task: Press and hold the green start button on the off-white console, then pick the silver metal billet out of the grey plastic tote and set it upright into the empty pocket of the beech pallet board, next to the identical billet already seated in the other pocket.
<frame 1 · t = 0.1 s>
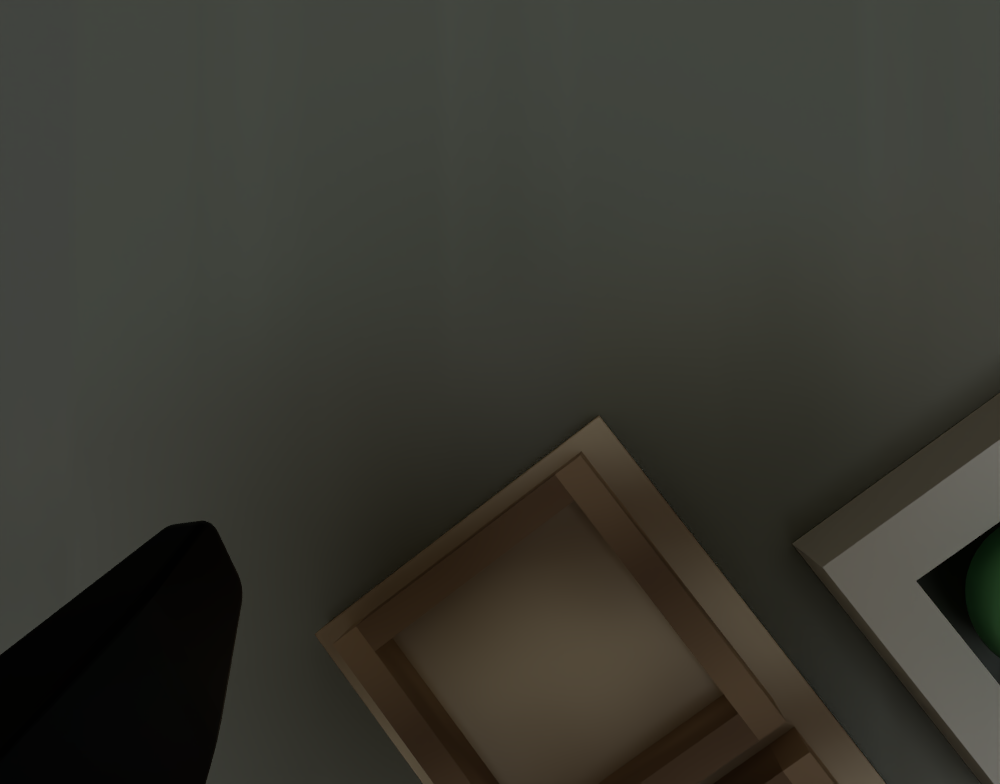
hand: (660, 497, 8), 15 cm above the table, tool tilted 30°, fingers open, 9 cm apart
pallet board: (655, 778, 22), on the table
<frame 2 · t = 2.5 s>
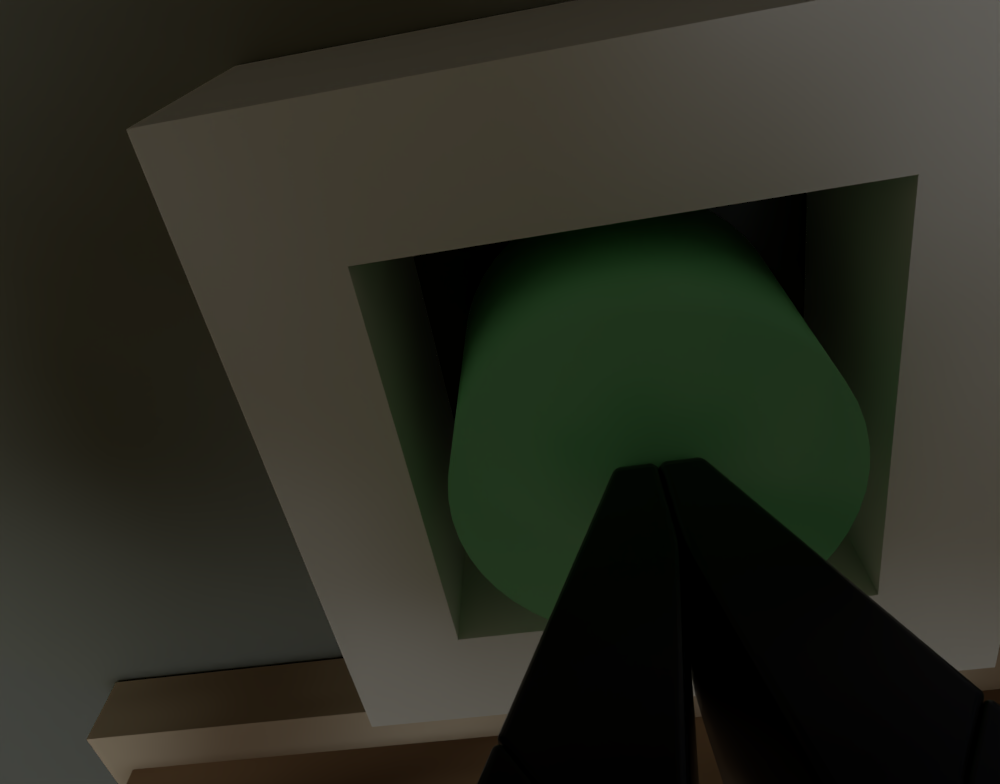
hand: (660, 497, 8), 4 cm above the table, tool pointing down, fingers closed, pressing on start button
start button: (635, 409, 9), point 2 cm above the table, slide at 1.3 cm, touching gripper
button console: (615, 321, 11), on the table
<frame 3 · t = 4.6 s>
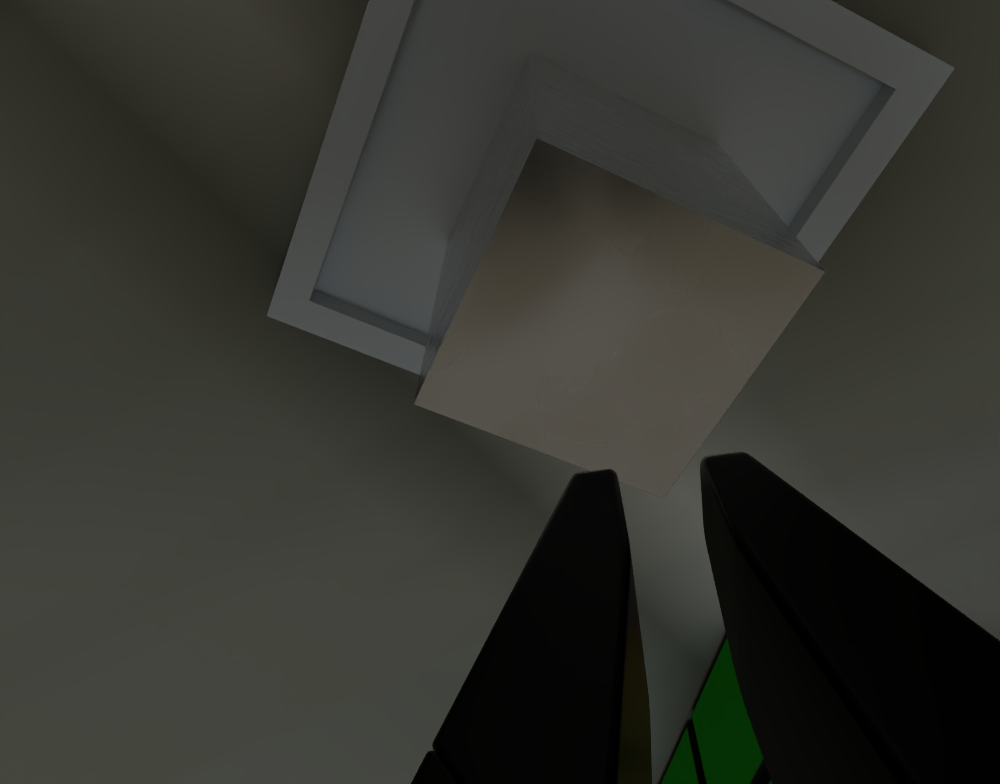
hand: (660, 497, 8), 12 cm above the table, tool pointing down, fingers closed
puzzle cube: (820, 724, 29), on the table
billet: (577, 194, 18), point 1 cm above the table, touching tote
tote: (576, 186, 18), on the table
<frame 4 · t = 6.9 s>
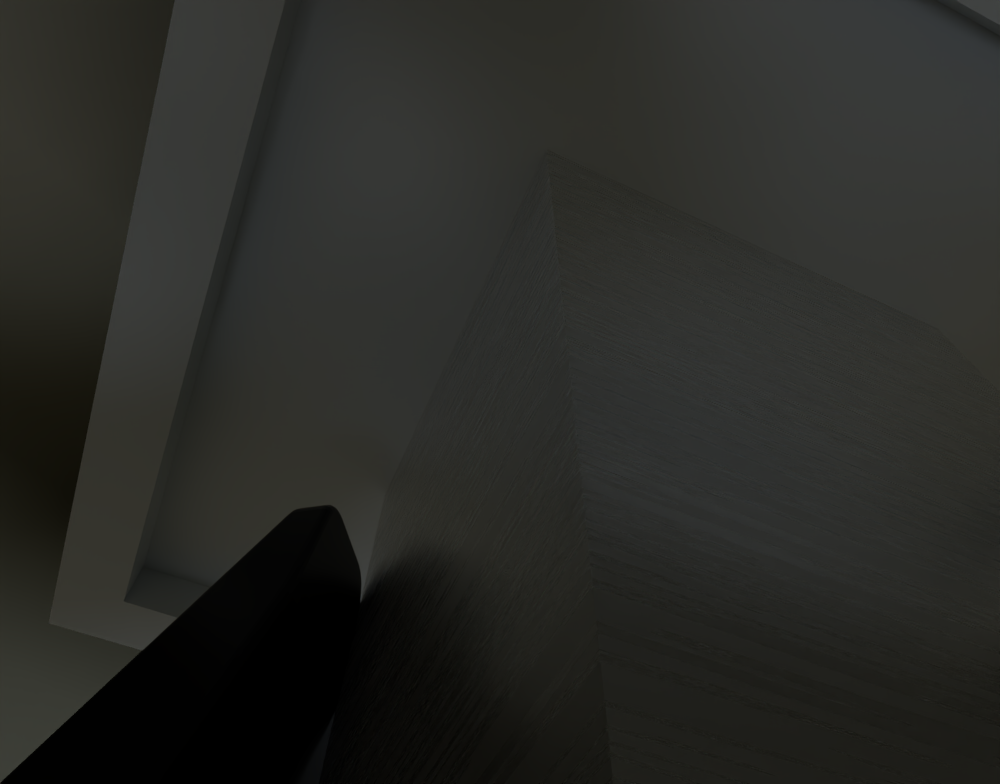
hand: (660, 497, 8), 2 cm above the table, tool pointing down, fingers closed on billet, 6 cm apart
billet: (641, 417, 9), point 1 cm above the table, touching gripper, tote
tote: (634, 389, 9), on the table
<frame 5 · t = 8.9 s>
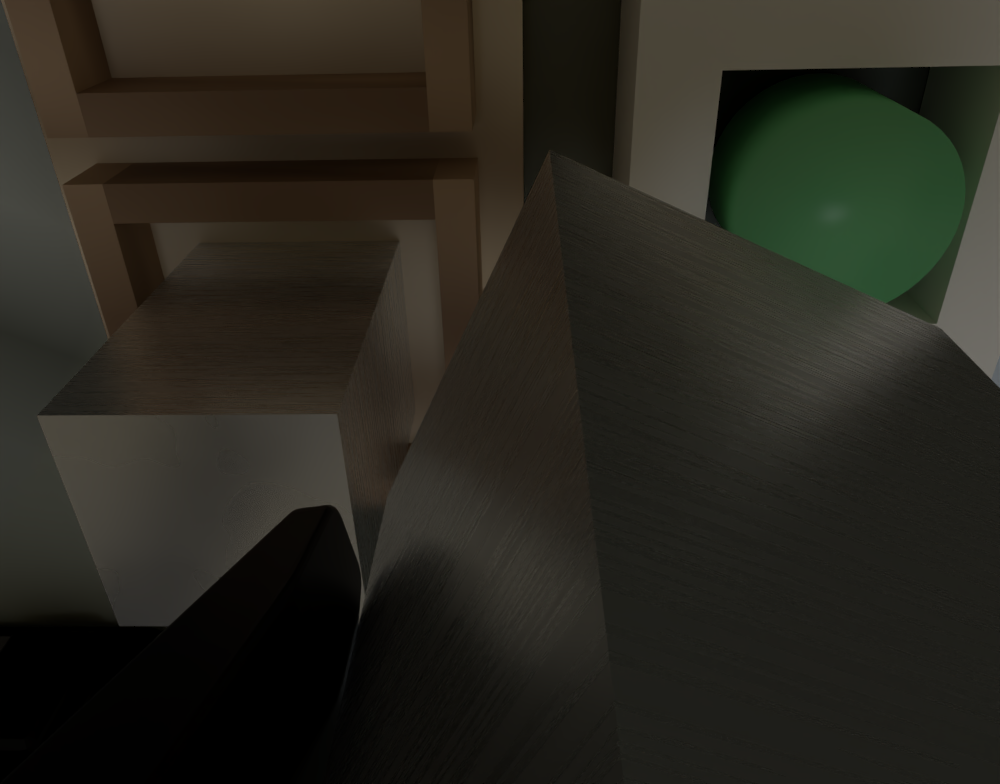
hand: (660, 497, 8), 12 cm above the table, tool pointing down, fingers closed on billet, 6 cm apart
billet: (643, 417, 9), point 10 cm above the table, touching gripper
pallet board: (296, 124, 18), on the table
start button: (824, 193, 16), point 2 cm above the table, slide at 1.3 cm
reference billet: (313, 331, 19), point 1 cm above the table, touching pallet board
button console: (793, 162, 18), on the table
when the fingers open (5 cm above the table, at t = 11.2 s): billet drops 2 cm, resting on pallet board.
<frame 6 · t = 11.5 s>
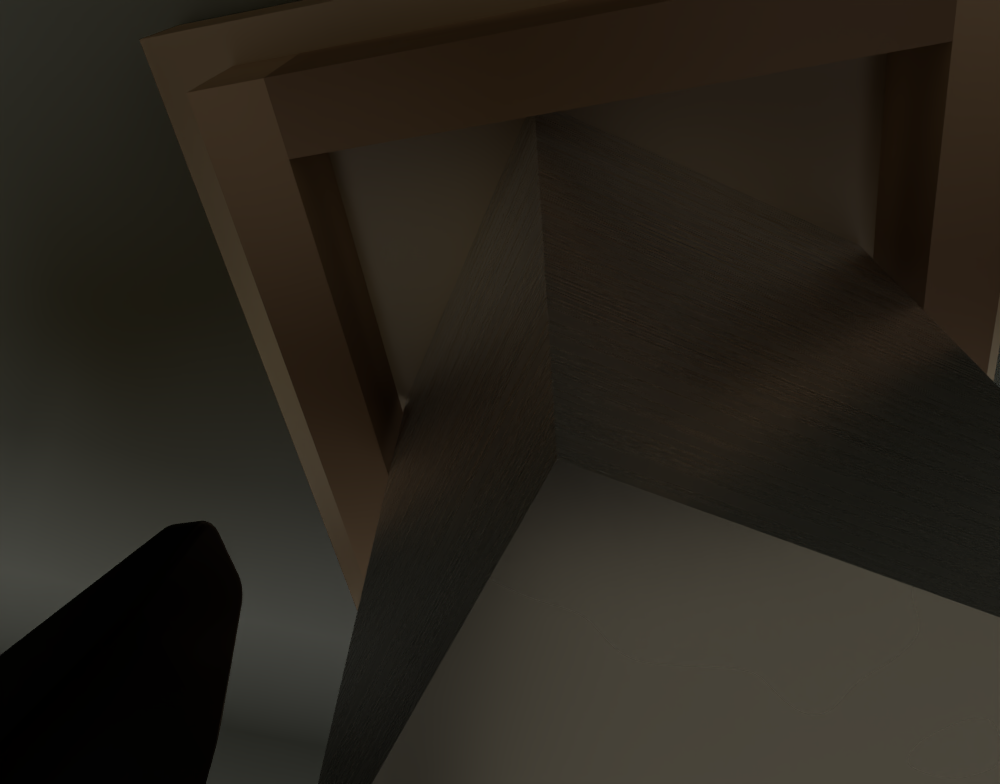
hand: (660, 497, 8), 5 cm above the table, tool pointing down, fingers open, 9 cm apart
billet: (618, 327, 11), point 1 cm above the table, touching pallet board
pallet board: (638, 520, 14), on the table
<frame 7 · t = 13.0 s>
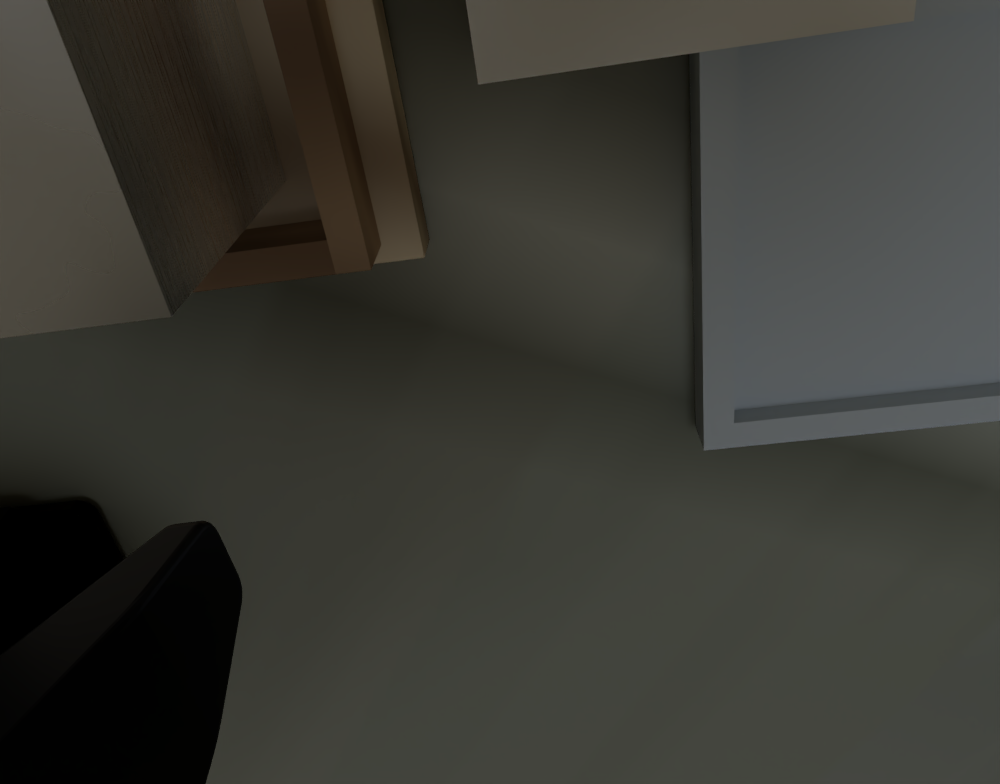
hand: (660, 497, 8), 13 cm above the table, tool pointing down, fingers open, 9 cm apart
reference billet: (155, 91, 17), point 1 cm above the table, touching pallet board
tote: (921, 215, 19), on the table
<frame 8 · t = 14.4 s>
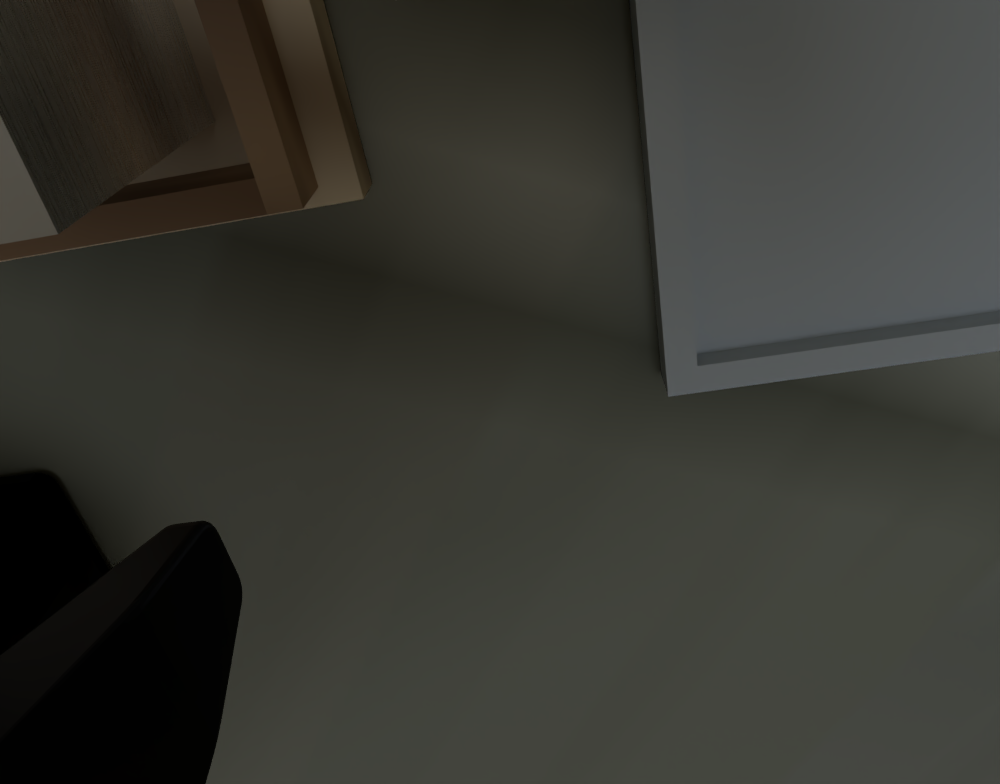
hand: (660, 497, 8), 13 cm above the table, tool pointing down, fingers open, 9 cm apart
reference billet: (74, 30, 17), point 1 cm above the table, touching pallet board
tote: (881, 138, 19), on the table
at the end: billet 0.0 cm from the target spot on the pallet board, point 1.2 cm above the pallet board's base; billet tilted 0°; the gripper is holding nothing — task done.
